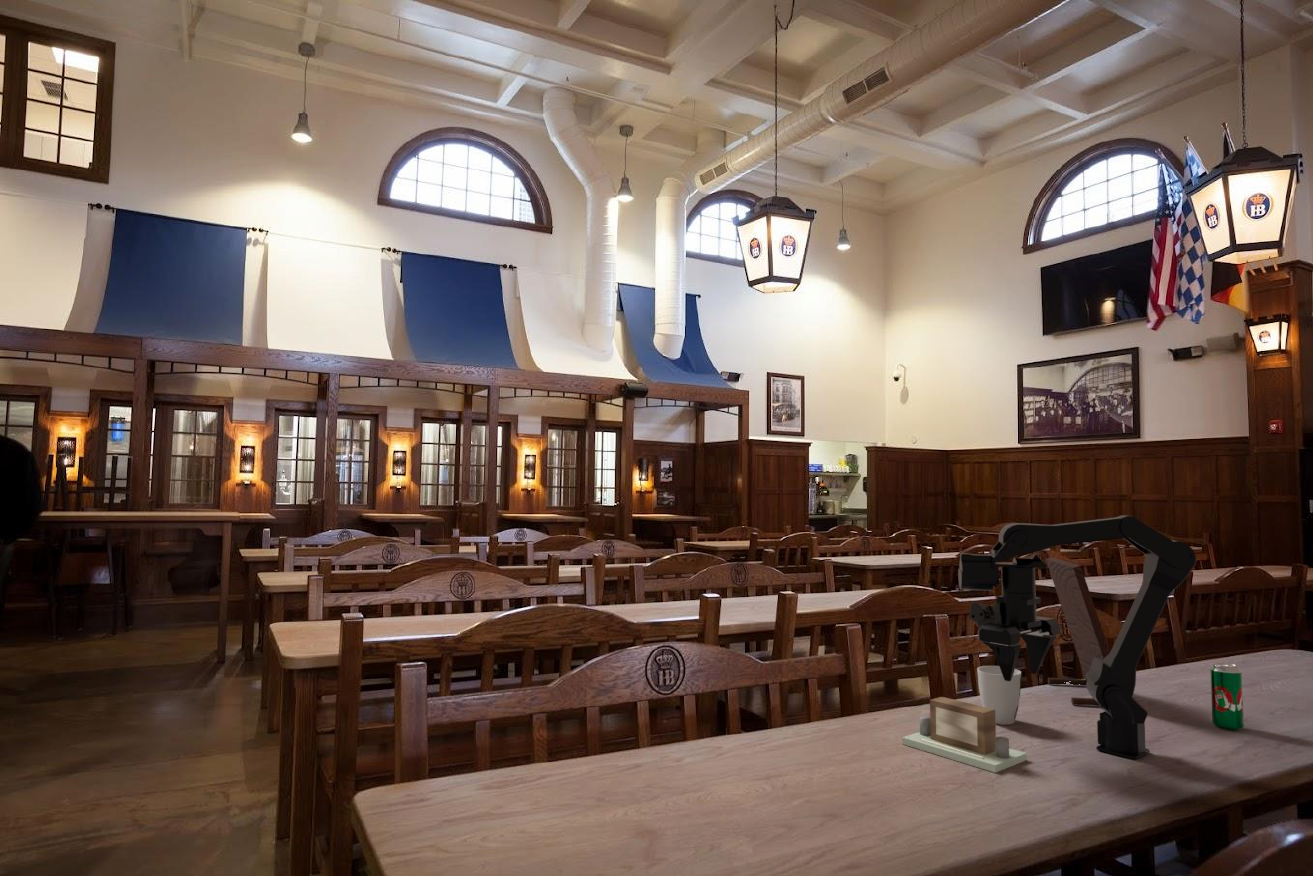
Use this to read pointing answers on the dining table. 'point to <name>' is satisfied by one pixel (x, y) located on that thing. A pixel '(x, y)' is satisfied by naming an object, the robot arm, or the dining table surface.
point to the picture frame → (1078, 620)
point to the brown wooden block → (963, 725)
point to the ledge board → (989, 762)
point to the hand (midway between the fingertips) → (1020, 677)
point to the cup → (999, 693)
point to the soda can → (1227, 696)
